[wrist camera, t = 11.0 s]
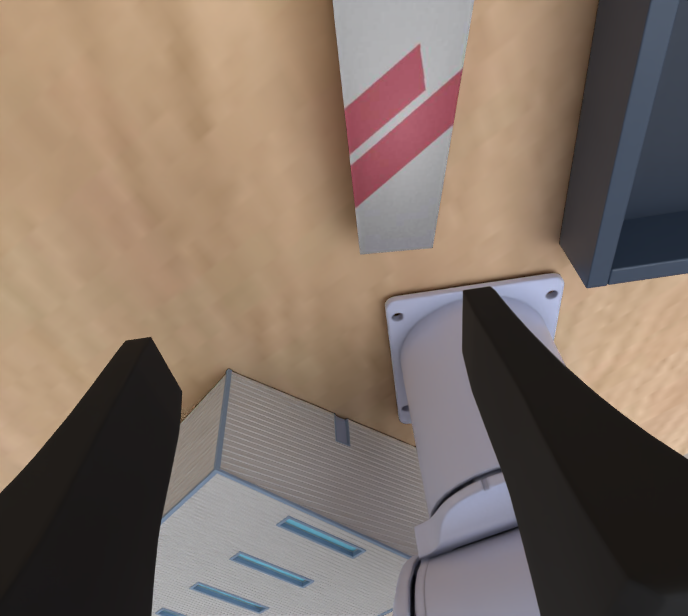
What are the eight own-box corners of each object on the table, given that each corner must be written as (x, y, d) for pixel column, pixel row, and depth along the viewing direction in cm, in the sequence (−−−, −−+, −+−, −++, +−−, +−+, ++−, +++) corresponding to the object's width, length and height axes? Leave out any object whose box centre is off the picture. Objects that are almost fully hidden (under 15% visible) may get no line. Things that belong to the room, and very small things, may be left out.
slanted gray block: (228, 368, 27) (209, 512, 21) (431, 452, 33) (458, 579, 28) (38, 576, 42) (-2, 692, 36) (203, 606, 48) (190, 708, 43)
